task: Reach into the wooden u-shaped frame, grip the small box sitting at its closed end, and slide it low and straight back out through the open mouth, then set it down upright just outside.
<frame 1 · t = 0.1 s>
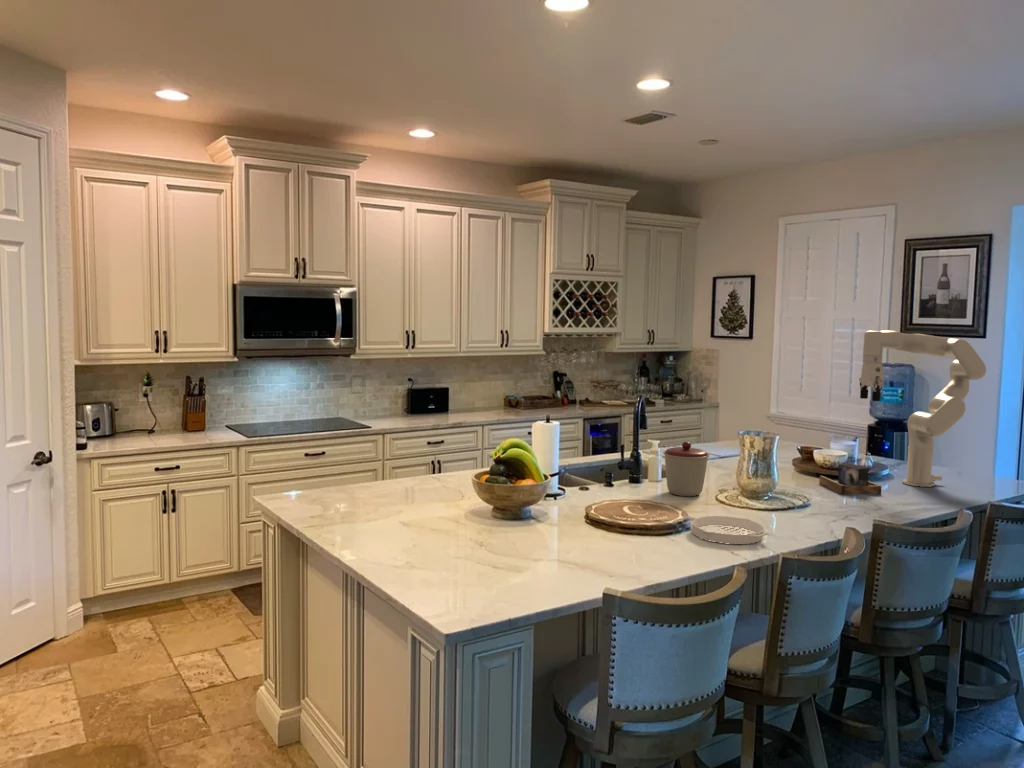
hand: (869, 399, 332), 37 cm above the table, tool pointing down, fingers open, 9 cm apart
small box: (852, 491, 322), resting in wooden u-shaped frame
wooden u-shaped frame: (849, 488, 325), on the table
canister: (684, 494, 310), on the table
pan: (707, 531, 257), on the table
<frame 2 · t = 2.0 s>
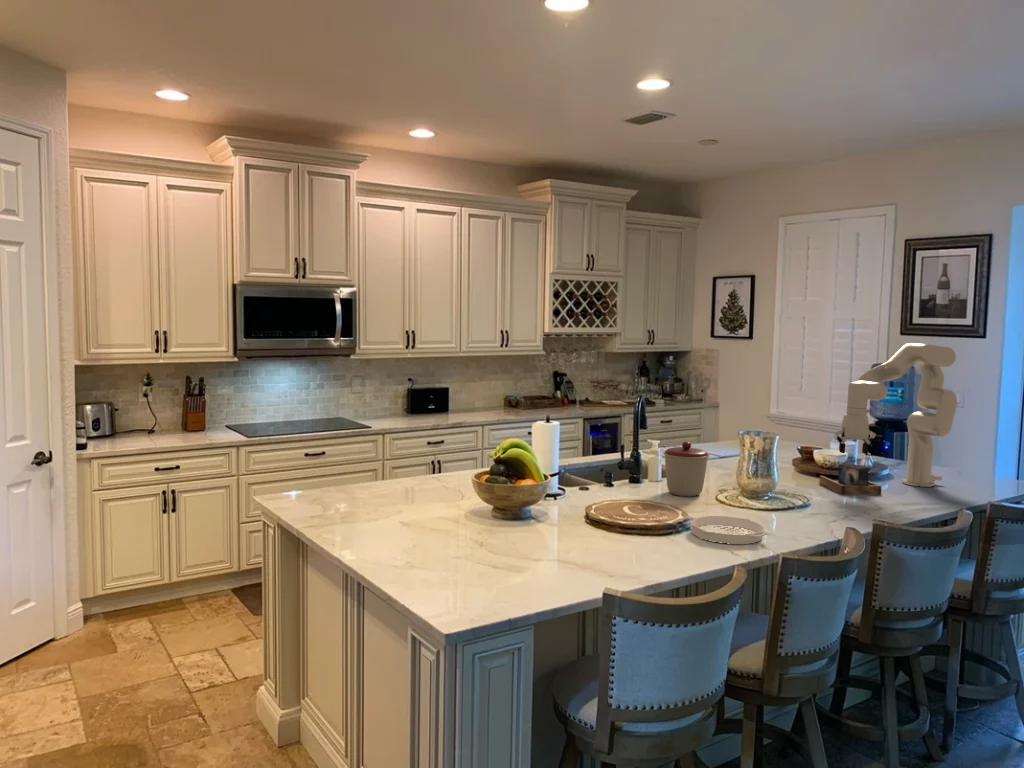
hand: (853, 453, 321), 16 cm above the table, tool pointing down, fingers open, 9 cm apart
nothing on the table moved.
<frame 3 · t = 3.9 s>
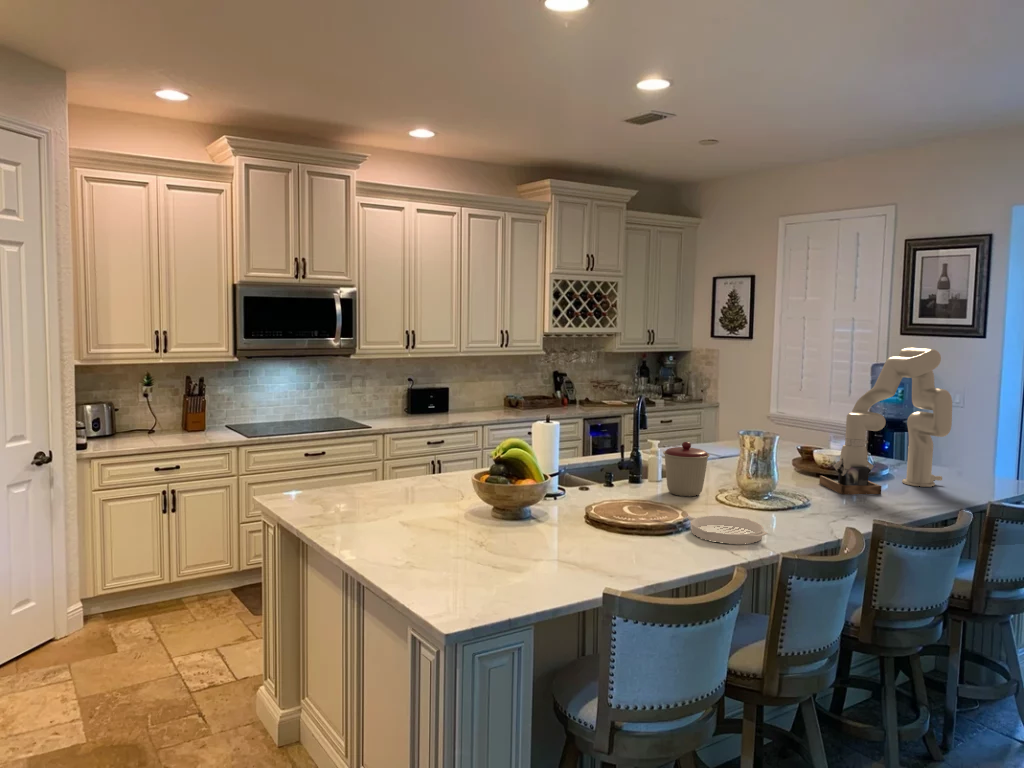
hand: (852, 484, 322), 3 cm above the table, tool pointing down, fingers closed on small box, 7 cm apart
small box: (852, 490, 322), resting in wooden u-shaped frame, touching gripper
everything else where it was.
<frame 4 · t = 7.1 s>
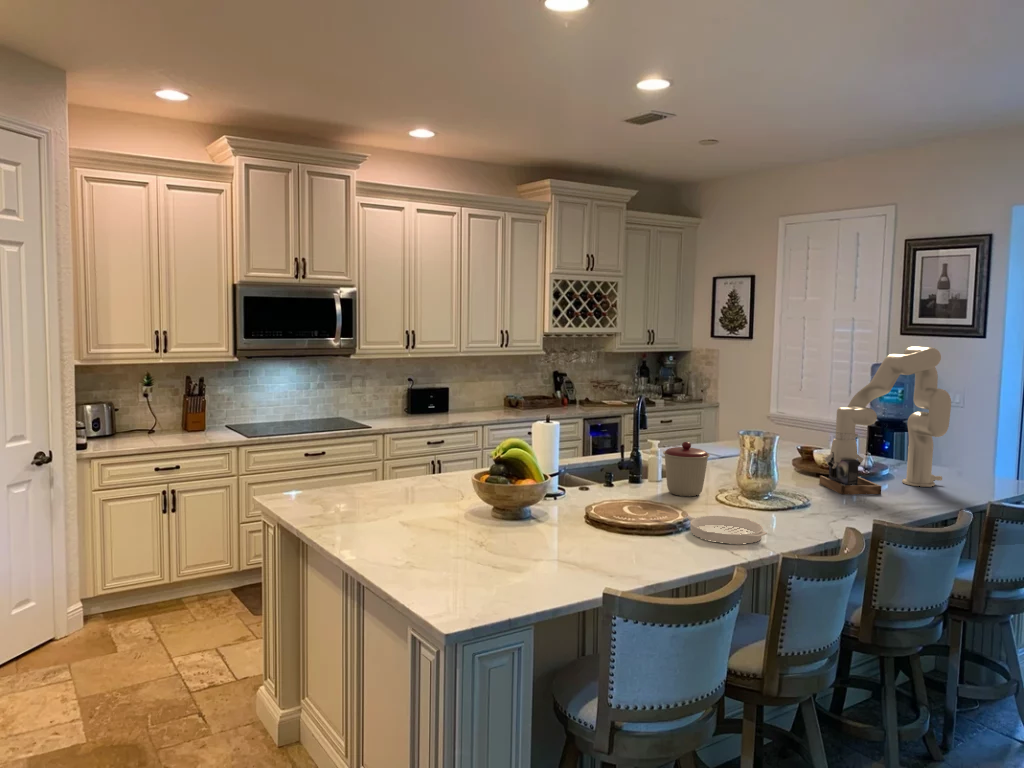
hand: (843, 477, 331), 4 cm above the table, tool pointing down, fingers closed on small box, 7 cm apart
small box: (842, 483, 331), point 1 cm above the table, touching gripper
everything else where it was.
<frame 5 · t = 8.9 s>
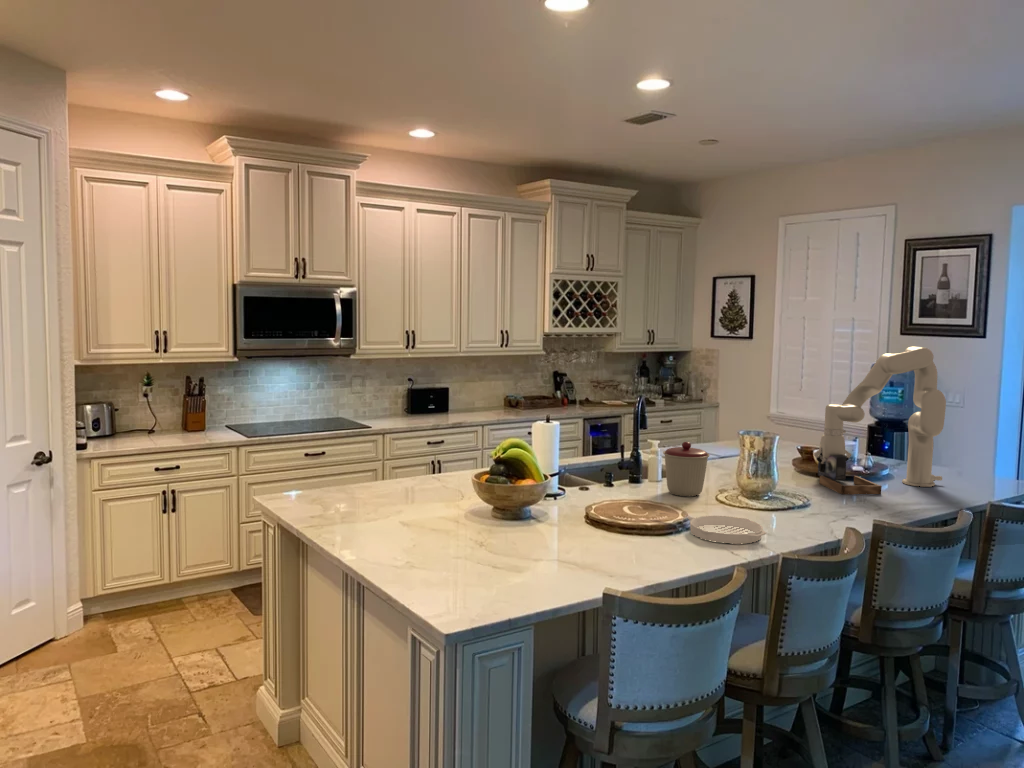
hand: (831, 471, 341), 4 cm above the table, tool pointing down, fingers closed on small box, 7 cm apart
small box: (831, 478, 341), point 1 cm above the table, touching gripper
everything else where it was.
when the fingers open (3 cm above the table, at t = 10.3 s): small box stays where it is, on the table.
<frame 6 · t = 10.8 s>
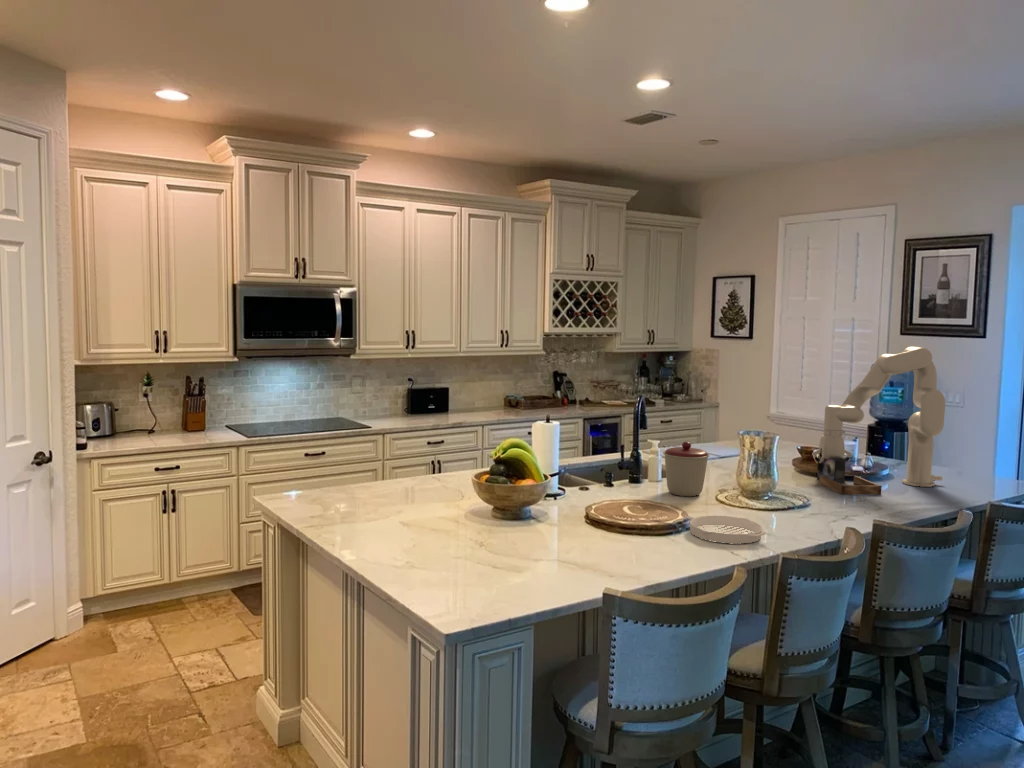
hand: (830, 471, 341), 4 cm above the table, tool pointing down, fingers open, 9 cm apart
small box: (830, 480, 342), on the table
everything else where it was.
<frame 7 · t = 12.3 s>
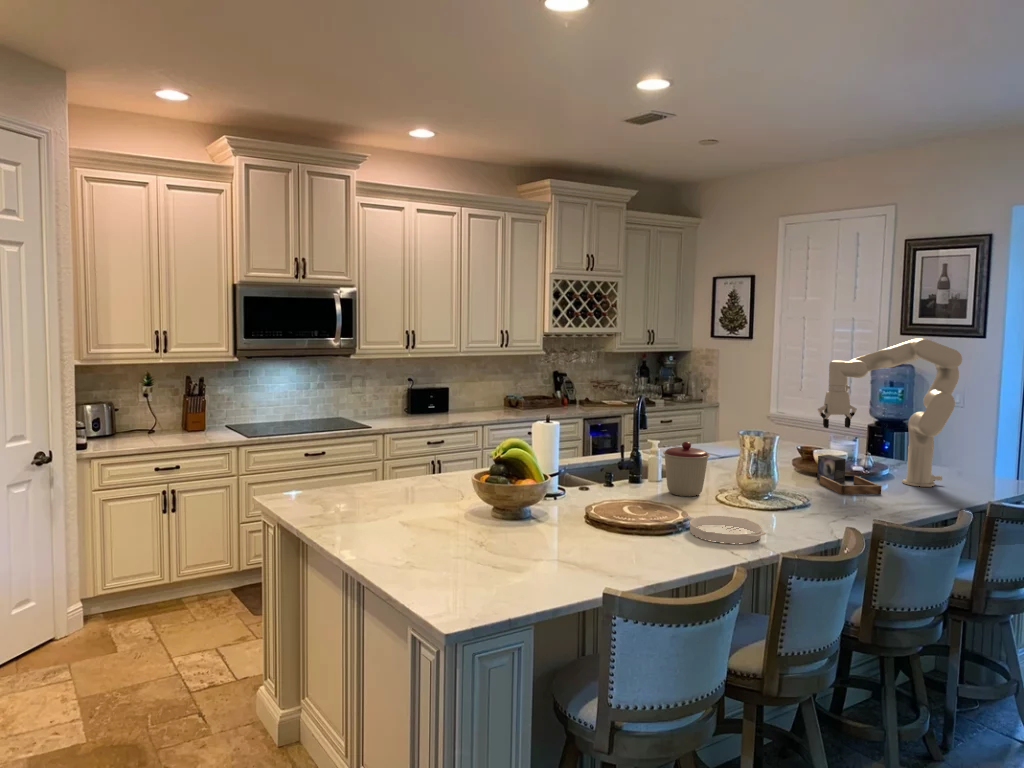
hand: (836, 427, 341), 23 cm above the table, tool pointing down, fingers open, 9 cm apart
nothing on the table moved.
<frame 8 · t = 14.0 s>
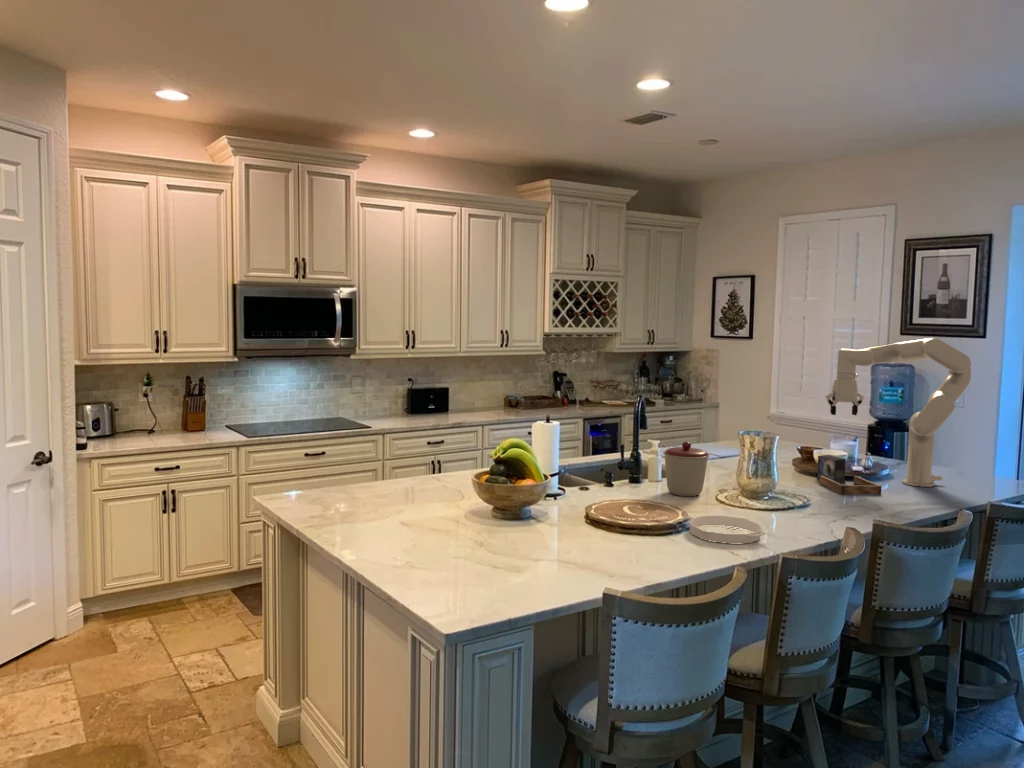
hand: (843, 414, 346), 28 cm above the table, tool pointing down, fingers open, 9 cm apart
nothing on the table moved.
at the end: small box inside the target area (1.0 cm from its centre), on the table; small box tilted 0°; the gripper is holding nothing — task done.
